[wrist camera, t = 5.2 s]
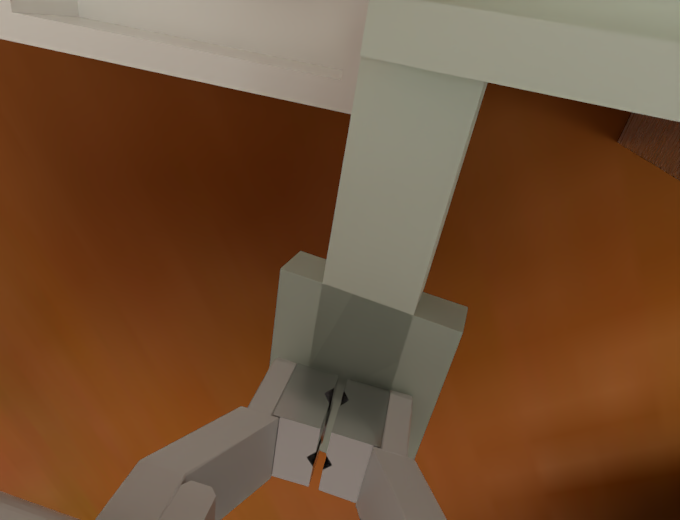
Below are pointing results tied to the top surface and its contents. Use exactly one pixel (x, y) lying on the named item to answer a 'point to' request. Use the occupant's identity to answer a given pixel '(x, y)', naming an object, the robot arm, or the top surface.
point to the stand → (654, 141)
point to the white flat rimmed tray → (210, 41)
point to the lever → (445, 168)
